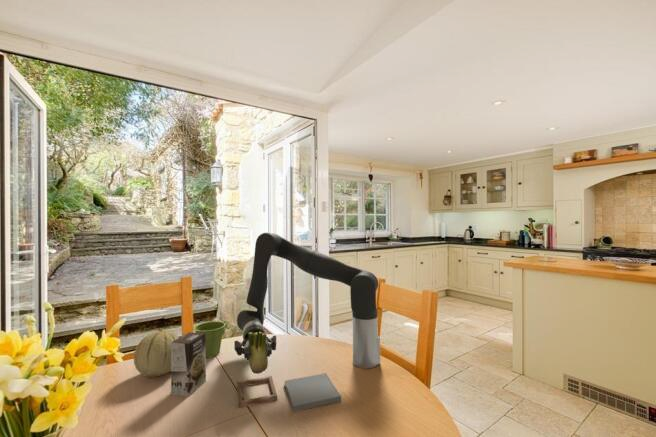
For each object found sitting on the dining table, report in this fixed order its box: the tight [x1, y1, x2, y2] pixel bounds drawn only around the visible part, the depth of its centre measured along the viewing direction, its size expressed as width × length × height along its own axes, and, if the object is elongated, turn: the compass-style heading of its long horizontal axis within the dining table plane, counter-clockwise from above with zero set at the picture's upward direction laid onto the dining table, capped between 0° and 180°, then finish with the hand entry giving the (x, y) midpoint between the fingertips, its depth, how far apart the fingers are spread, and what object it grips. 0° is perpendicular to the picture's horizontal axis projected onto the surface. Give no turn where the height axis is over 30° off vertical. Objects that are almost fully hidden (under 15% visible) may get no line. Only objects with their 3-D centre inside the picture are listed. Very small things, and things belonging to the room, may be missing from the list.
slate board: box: [284, 372, 342, 412], centre depth 92 cm, size 14×14×2 cm
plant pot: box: [193, 320, 226, 358], centre depth 120 cm, size 12×12×11 cm
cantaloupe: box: [133, 328, 180, 378], centre depth 104 cm, size 15×15×15 cm
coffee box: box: [170, 332, 207, 397], centre depth 95 cm, size 9×6×16 cm
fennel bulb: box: [248, 332, 269, 375], centre depth 92 cm, size 6×5×12 cm
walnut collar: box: [236, 375, 278, 408], centre depth 92 cm, size 11×12×1 cm
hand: (258, 354), depth 90 cm, fingers closed on fennel bulb, 5 cm apart
